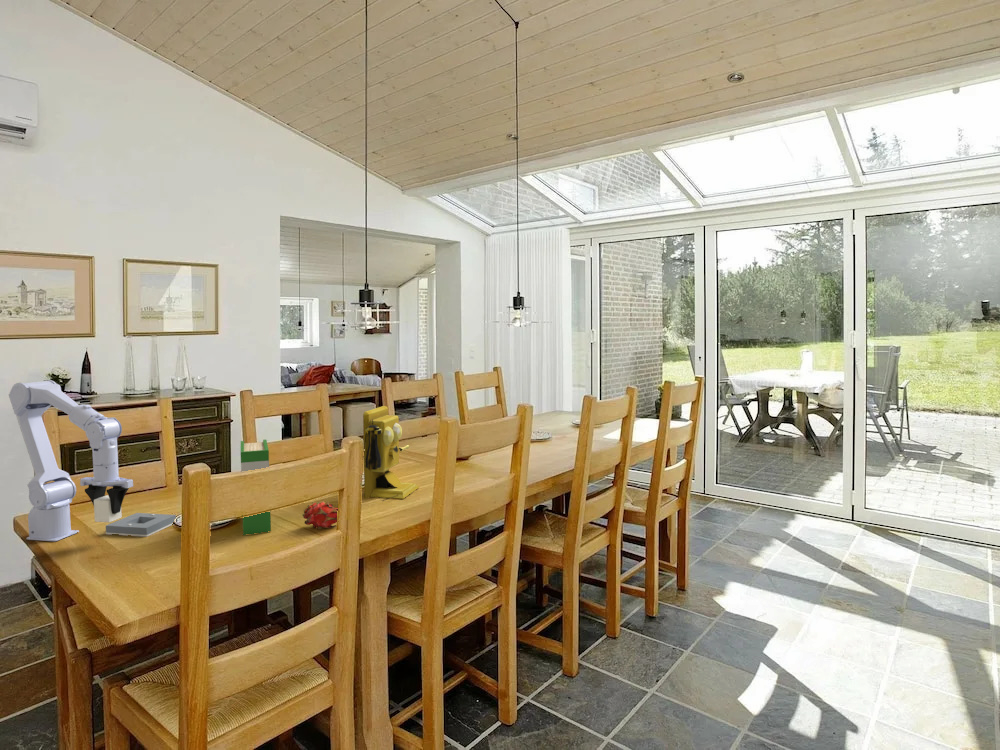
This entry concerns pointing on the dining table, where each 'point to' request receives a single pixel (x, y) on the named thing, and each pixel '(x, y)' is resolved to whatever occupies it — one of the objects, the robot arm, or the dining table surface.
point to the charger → (104, 510)
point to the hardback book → (251, 460)
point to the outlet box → (140, 524)
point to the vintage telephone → (383, 455)
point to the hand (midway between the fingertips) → (108, 512)
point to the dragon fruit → (320, 515)
